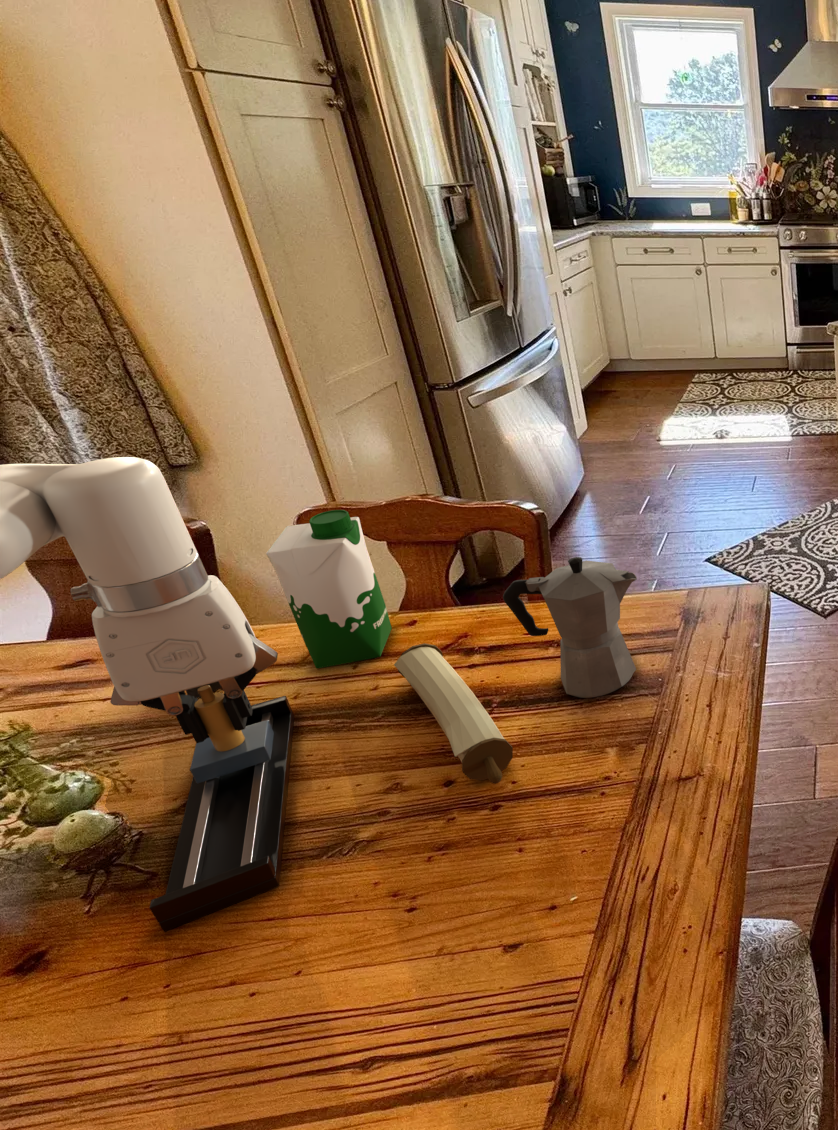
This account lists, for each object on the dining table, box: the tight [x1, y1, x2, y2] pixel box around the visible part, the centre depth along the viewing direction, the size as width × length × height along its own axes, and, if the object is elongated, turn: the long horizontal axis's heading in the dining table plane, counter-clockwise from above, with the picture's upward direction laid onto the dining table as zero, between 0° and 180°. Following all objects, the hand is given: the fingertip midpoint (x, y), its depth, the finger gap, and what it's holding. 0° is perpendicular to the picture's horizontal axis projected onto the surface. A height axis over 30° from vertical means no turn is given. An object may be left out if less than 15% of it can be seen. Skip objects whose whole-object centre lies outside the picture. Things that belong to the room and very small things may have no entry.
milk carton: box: [265, 509, 393, 670], centre depth 101 cm, size 9×9×20 cm
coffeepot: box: [502, 556, 638, 699], centre depth 97 cm, size 15×9×18 cm, turn 104°
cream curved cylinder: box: [393, 642, 514, 785], centre depth 91 cm, size 32×6×5 cm, turn 47°
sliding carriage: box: [189, 685, 274, 783], centre depth 82 cm, size 6×5×10 cm
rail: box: [149, 695, 295, 932], centre depth 80 cm, size 8×28×3 cm, turn 36°
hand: (222, 727), depth 82 cm, fingers closed on sliding carriage, 2 cm apart
